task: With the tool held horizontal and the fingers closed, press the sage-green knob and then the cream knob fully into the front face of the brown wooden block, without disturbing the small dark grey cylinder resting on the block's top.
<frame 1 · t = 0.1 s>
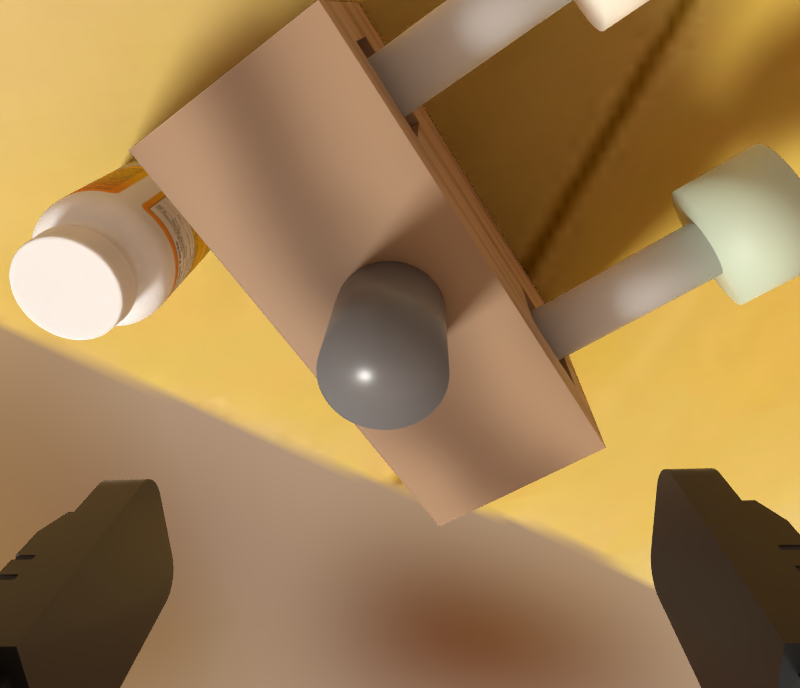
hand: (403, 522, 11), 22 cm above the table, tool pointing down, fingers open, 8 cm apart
knob sage: (636, 285, 25), point 7 cm above the table, slide at 0.0 cm
brown wooden block: (465, 176, 30), on the table
supplement bottle: (166, 212, 32), on the table
knob cream: (488, 15, 21), point 7 cm above the table, slide at 0.0 cm
dark grey cylinder: (390, 313, 21), point 11 cm above the table, touching brown wooden block
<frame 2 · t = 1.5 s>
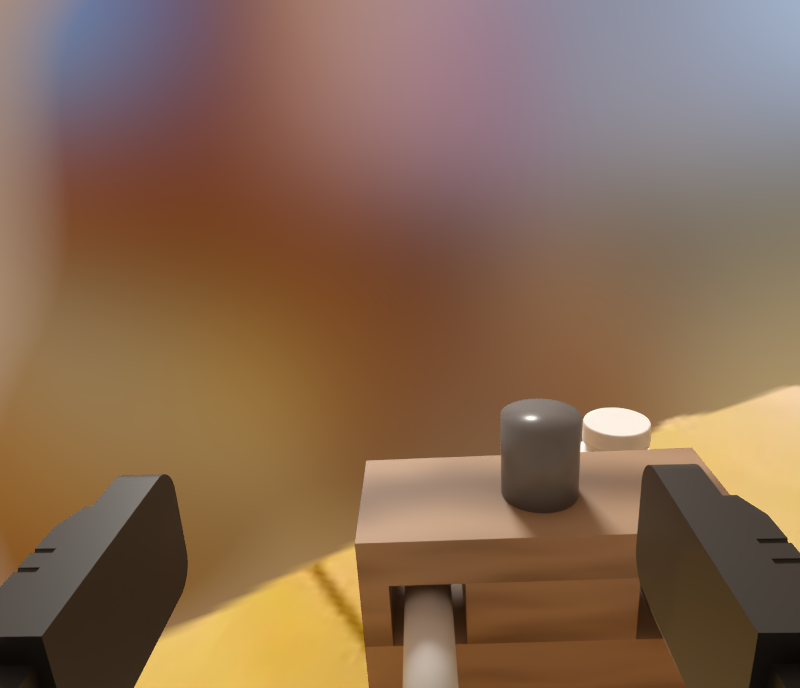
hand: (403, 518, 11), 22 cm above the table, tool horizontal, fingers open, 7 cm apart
knob sage: (430, 685, 26), point 7 cm above the table, slide at 0.0 cm
supplement bottle: (608, 554, 44), on the table
knob cream: (713, 677, 25), point 7 cm above the table, slide at 0.0 cm
dark grey cylinder: (539, 491, 31), point 11 cm above the table, touching brown wooden block
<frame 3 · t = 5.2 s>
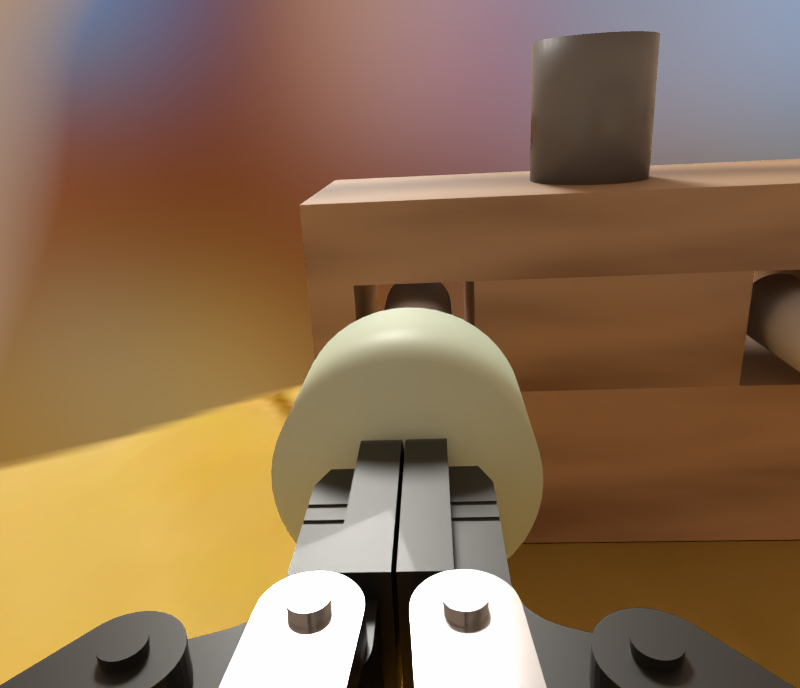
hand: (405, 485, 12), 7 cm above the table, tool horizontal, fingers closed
knob sage: (414, 366, 17), point 7 cm above the table, slide at 1.7 cm, touching gripper
brown wooden block: (596, 541, 21), on the table
dark grey cylinder: (588, 178, 21), point 11 cm above the table, touching brown wooden block
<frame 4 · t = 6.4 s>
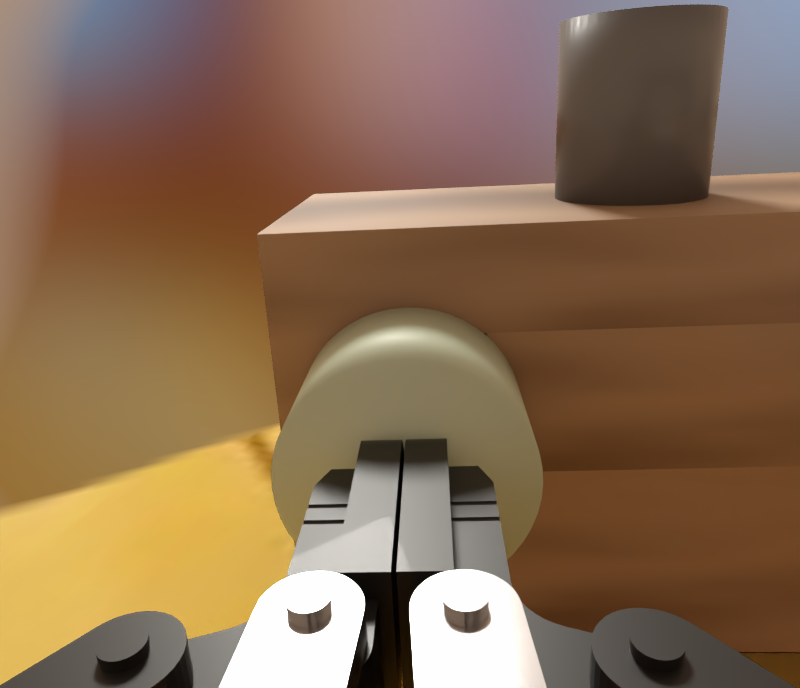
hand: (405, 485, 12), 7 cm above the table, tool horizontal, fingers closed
knob sage: (413, 366, 17), point 7 cm above the table, slide at 6.2 cm, touching gripper
brown wooden block: (639, 652, 17), on the table
dark grey cylinder: (628, 195, 16), point 11 cm above the table, touching brown wooden block
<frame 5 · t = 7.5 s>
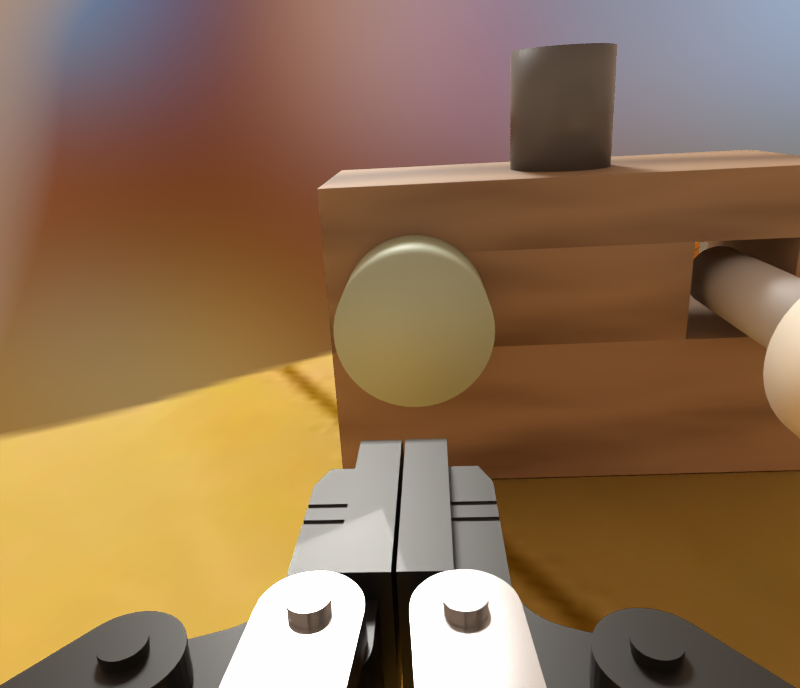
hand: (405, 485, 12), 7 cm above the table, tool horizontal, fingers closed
knob sage: (415, 285, 25), point 7 cm above the table, slide at 6.2 cm
brown wooden block: (569, 476, 25), on the table
dark grey cylinder: (559, 167, 24), point 11 cm above the table, touching brown wooden block
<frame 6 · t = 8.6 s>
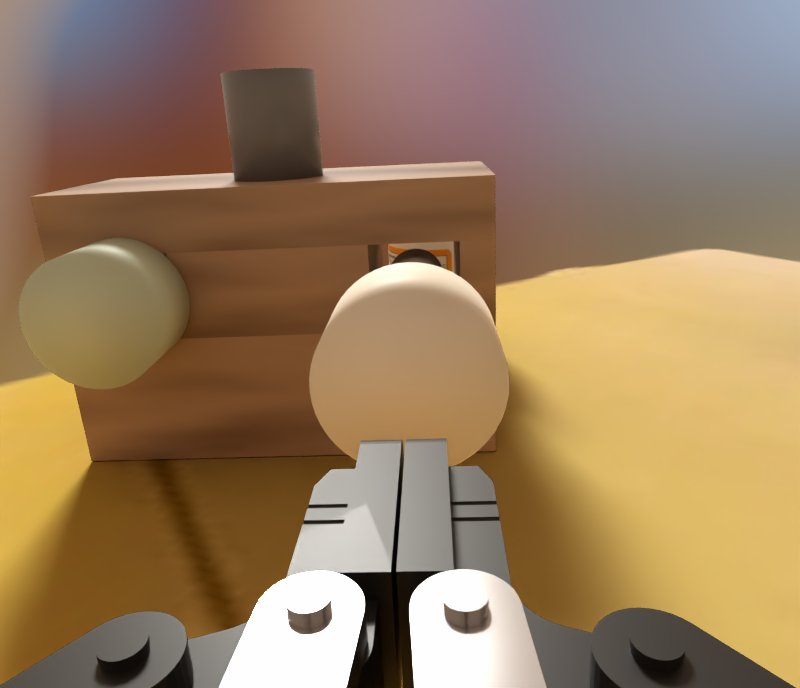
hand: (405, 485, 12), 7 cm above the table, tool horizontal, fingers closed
knob sage: (155, 282, 28), point 7 cm above the table, slide at 6.2 cm
brown wooden block: (290, 456, 27), on the table
supplement bottle: (438, 350, 39), on the table
knob cream: (413, 317, 21), point 7 cm above the table, slide at 0.0 cm
dark grey cylinder: (279, 177, 27), point 11 cm above the table, touching brown wooden block
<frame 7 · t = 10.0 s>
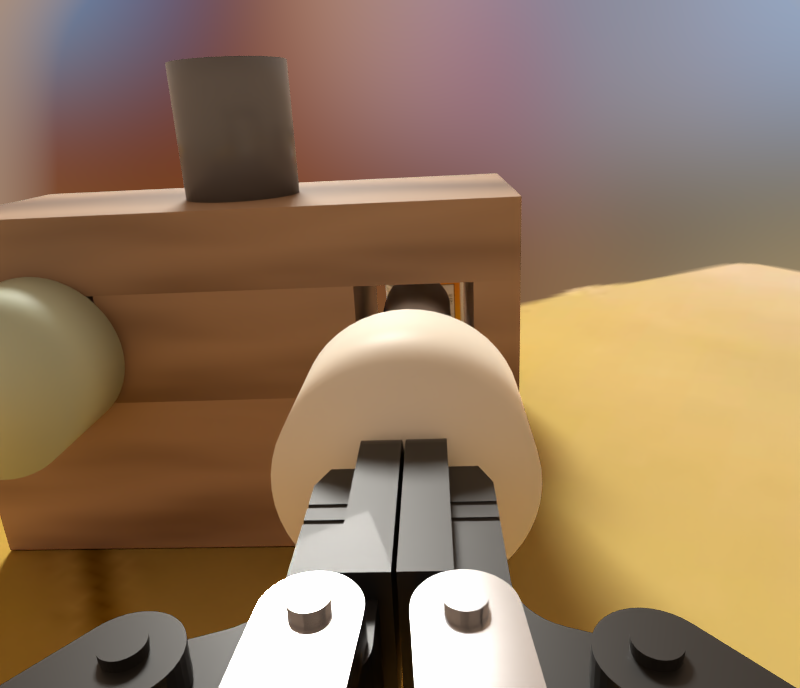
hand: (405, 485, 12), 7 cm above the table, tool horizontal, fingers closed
knob sage: (90, 327, 22), point 7 cm above the table, slide at 6.2 cm
brown wooden block: (258, 546, 22), on the table
supplement bottle: (444, 390, 34), on the table
knob cream: (413, 367, 17), point 7 cm above the table, slide at 1.6 cm, touching gripper
dark grey cylinder: (243, 195, 21), point 11 cm above the table, touching brown wooden block
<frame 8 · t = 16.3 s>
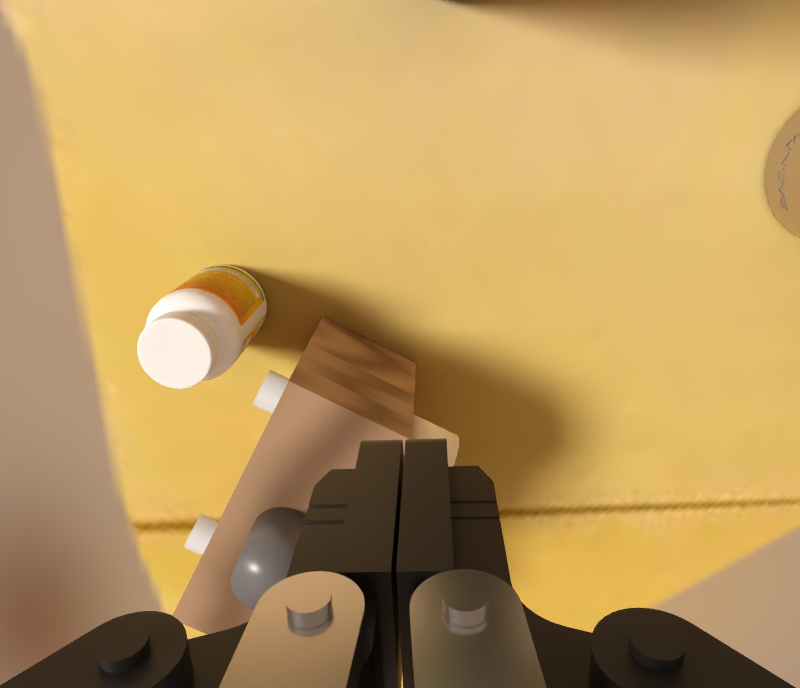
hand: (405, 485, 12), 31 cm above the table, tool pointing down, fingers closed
knob sage: (276, 567, 41), point 7 cm above the table, slide at 6.2 cm
brown wooden block: (360, 461, 47), on the table
supplement bottle: (228, 302, 43), on the table
knob cream: (352, 430, 38), point 7 cm above the table, slide at 6.2 cm
dark grey cylinder: (284, 535, 36), point 11 cm above the table, touching brown wooden block
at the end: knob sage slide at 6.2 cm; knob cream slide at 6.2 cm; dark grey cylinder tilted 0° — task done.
